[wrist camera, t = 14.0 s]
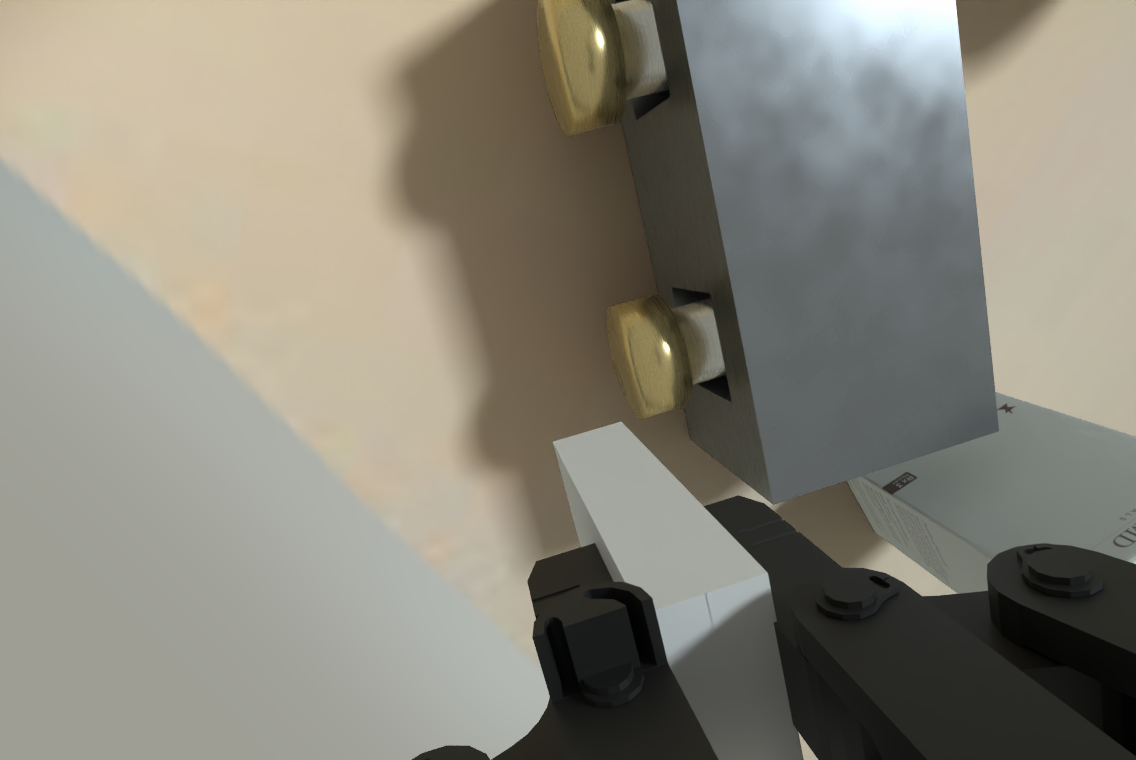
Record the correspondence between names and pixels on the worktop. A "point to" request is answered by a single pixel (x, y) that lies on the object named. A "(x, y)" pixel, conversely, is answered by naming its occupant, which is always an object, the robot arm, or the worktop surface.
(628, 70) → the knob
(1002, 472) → the skincare box
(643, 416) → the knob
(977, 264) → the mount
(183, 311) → the worktop surface
